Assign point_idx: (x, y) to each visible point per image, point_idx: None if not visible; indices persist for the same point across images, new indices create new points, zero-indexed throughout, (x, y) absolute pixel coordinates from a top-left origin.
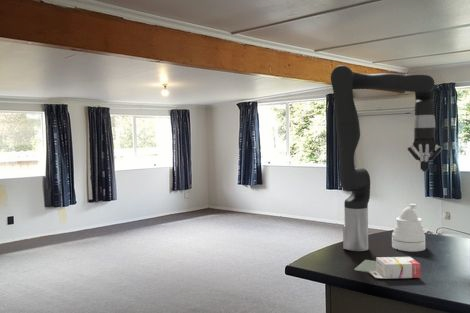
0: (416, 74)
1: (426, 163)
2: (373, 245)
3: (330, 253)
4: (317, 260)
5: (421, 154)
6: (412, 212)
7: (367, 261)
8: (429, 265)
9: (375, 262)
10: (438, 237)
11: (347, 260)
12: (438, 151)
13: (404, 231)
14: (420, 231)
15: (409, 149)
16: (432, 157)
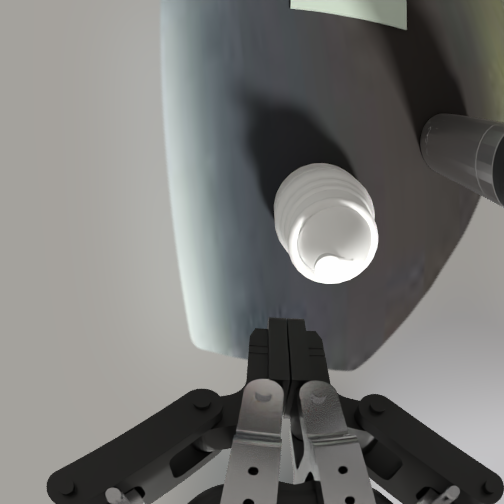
0: None
1: (265, 372)
2: (410, 195)
3: (486, 83)
4: (489, 21)
5: (332, 445)
6: (326, 239)
7: (397, 15)
8: (245, 37)
9: (378, 10)
10: None
11: (441, 27)
12: (91, 462)
13: (340, 184)
14: (289, 207)
15: (483, 482)
16: (186, 413)
